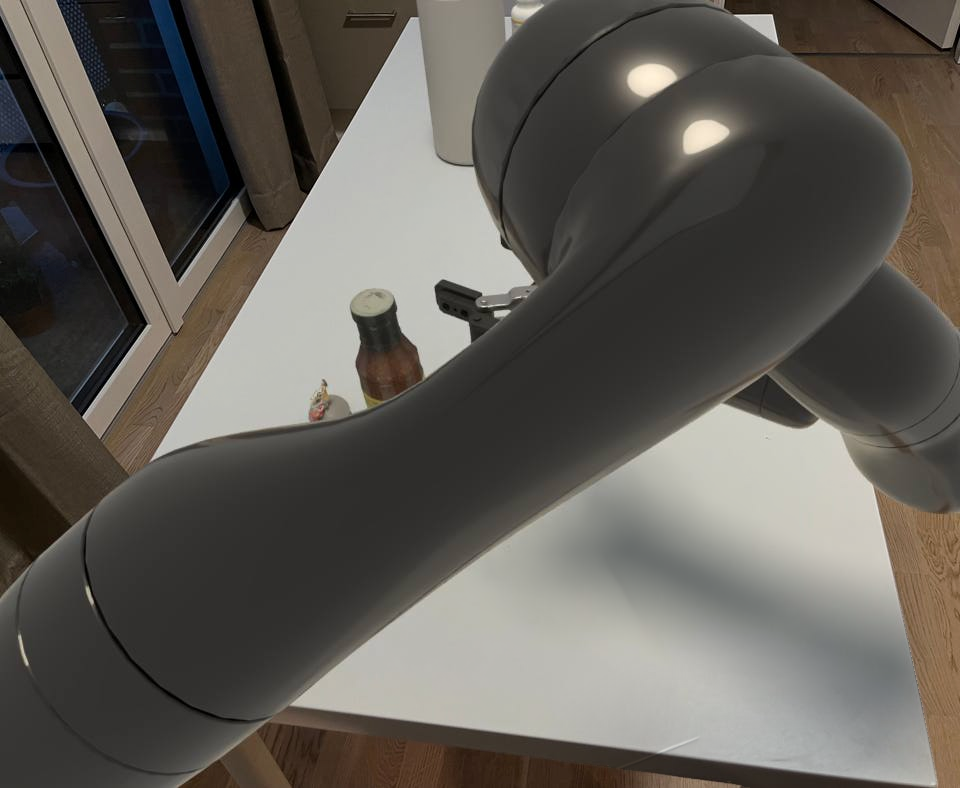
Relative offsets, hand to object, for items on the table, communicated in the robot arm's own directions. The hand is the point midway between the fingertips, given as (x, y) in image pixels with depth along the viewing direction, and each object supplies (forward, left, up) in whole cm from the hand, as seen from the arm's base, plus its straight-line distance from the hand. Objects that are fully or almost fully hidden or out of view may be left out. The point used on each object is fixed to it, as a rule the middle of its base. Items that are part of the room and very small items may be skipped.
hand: (471, 261), depth 60 cm
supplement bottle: (+91, +51, -28) cm, 108 cm away
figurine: (-1, +21, -28) cm, 35 cm away
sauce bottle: (0, +11, -28) cm, 30 cm away
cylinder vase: (+58, +42, -28) cm, 77 cm away
